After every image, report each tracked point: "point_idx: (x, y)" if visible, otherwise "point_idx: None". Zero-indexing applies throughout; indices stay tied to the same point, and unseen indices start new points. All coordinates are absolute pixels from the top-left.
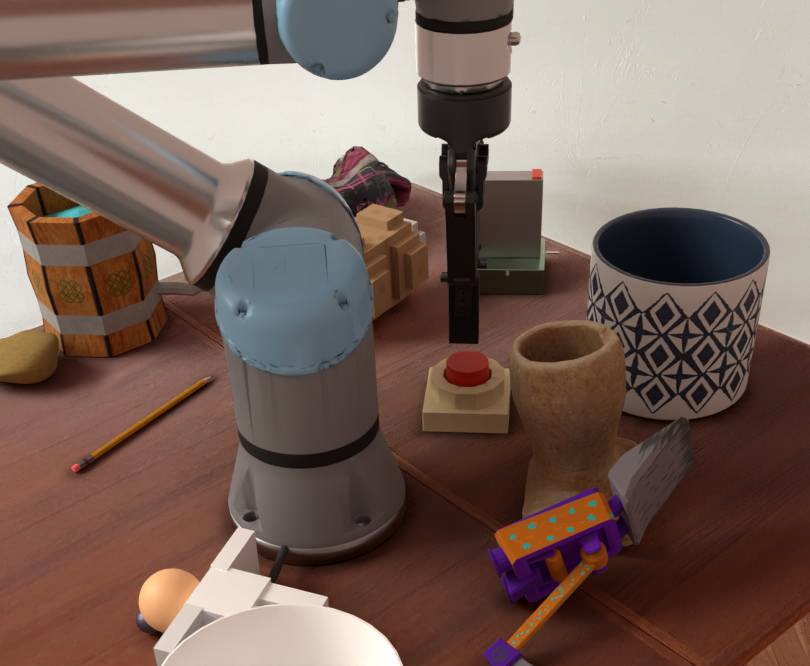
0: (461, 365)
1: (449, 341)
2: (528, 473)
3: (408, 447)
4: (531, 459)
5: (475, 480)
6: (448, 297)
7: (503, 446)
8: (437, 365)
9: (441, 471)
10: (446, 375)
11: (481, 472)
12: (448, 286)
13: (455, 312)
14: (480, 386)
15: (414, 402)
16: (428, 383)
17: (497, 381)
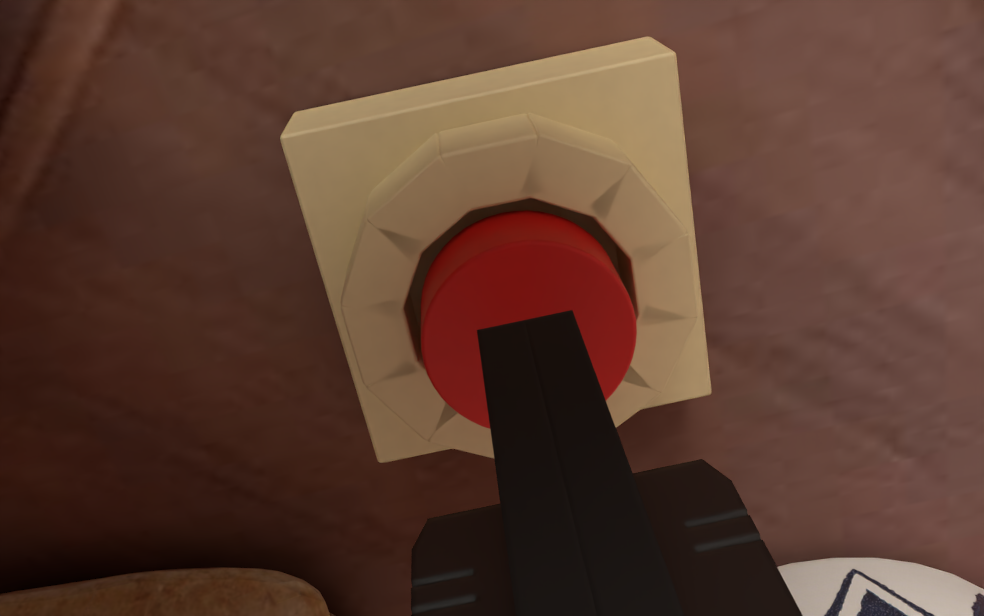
0: (482, 328)
1: (480, 338)
2: (36, 610)
3: (163, 84)
4: (127, 596)
5: (69, 385)
6: (507, 529)
7: (303, 419)
8: (563, 155)
9: (65, 260)
10: (489, 220)
11: (123, 392)
12: (518, 604)
13: (415, 549)
14: (427, 392)
15: (503, 2)
16: (524, 91)
17: (485, 446)
